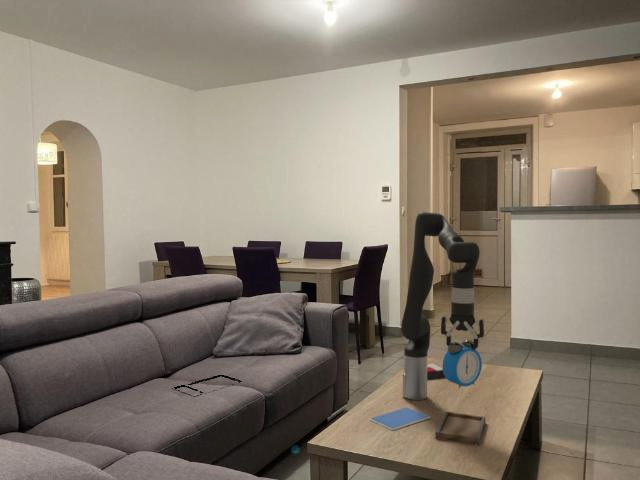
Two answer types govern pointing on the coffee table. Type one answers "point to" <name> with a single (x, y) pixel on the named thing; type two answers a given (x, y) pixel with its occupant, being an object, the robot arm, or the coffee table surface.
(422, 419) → the blue notebook
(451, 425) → the tray
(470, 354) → the alarm clock
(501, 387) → the coffee table surface
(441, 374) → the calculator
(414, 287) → the robot arm
